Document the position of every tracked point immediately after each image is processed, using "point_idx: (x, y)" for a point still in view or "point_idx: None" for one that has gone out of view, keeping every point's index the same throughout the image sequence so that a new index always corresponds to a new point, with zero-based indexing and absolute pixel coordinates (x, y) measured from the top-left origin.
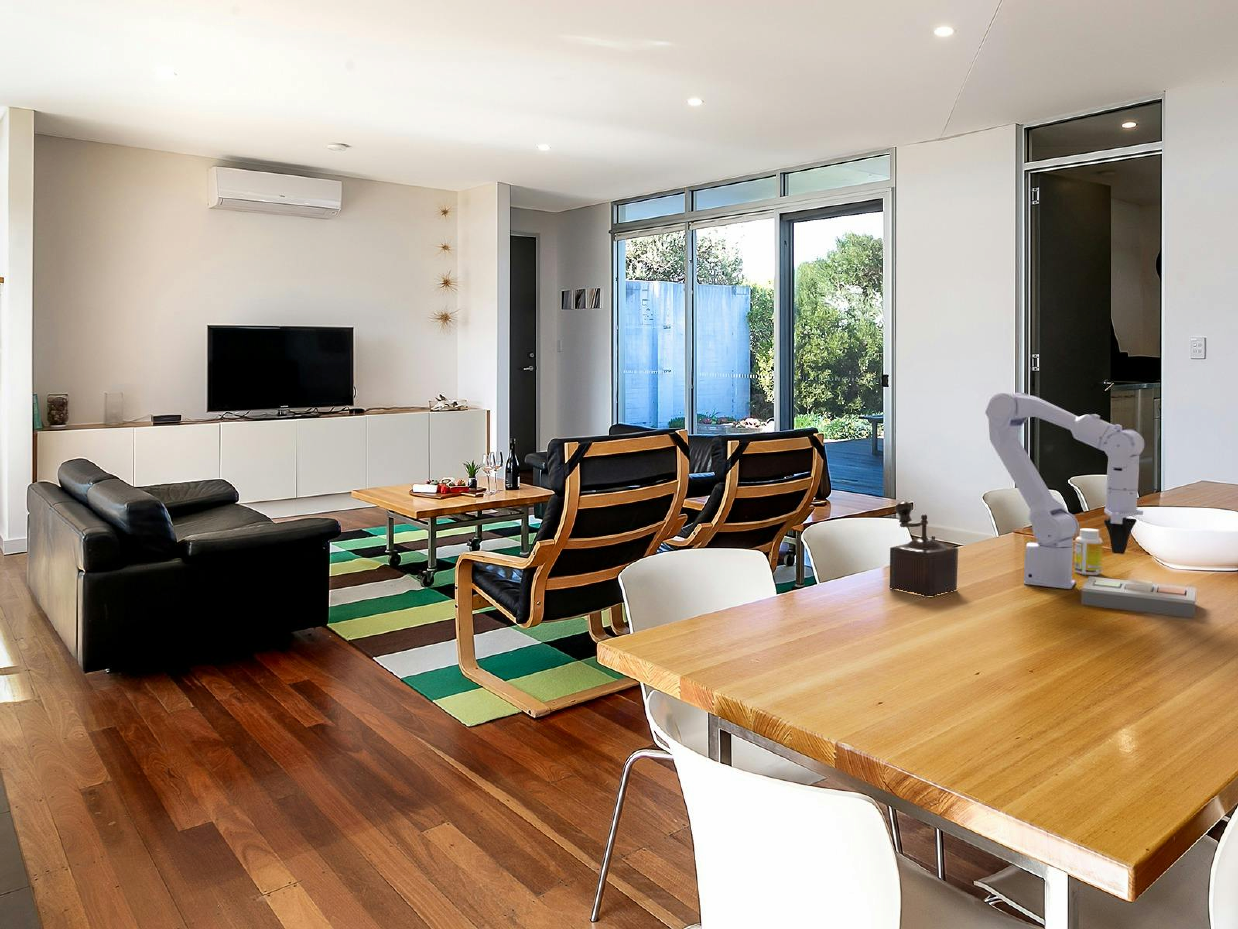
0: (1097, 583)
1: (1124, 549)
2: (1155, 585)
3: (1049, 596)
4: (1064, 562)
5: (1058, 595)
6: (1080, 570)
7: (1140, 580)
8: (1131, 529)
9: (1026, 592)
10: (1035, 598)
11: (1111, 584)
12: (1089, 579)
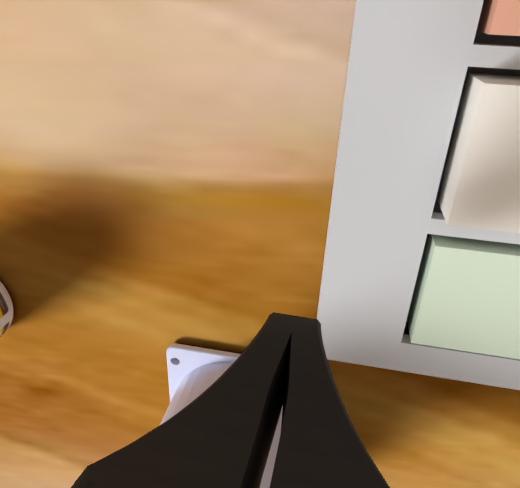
0: (513, 347)
1: (322, 342)
2: (414, 58)
3: (453, 427)
4: (266, 470)
5: (423, 402)
6: (6, 326)
7: (467, 158)
8: (250, 453)
9: (414, 477)
10: (506, 465)
11: (518, 291)
12: (384, 361)
